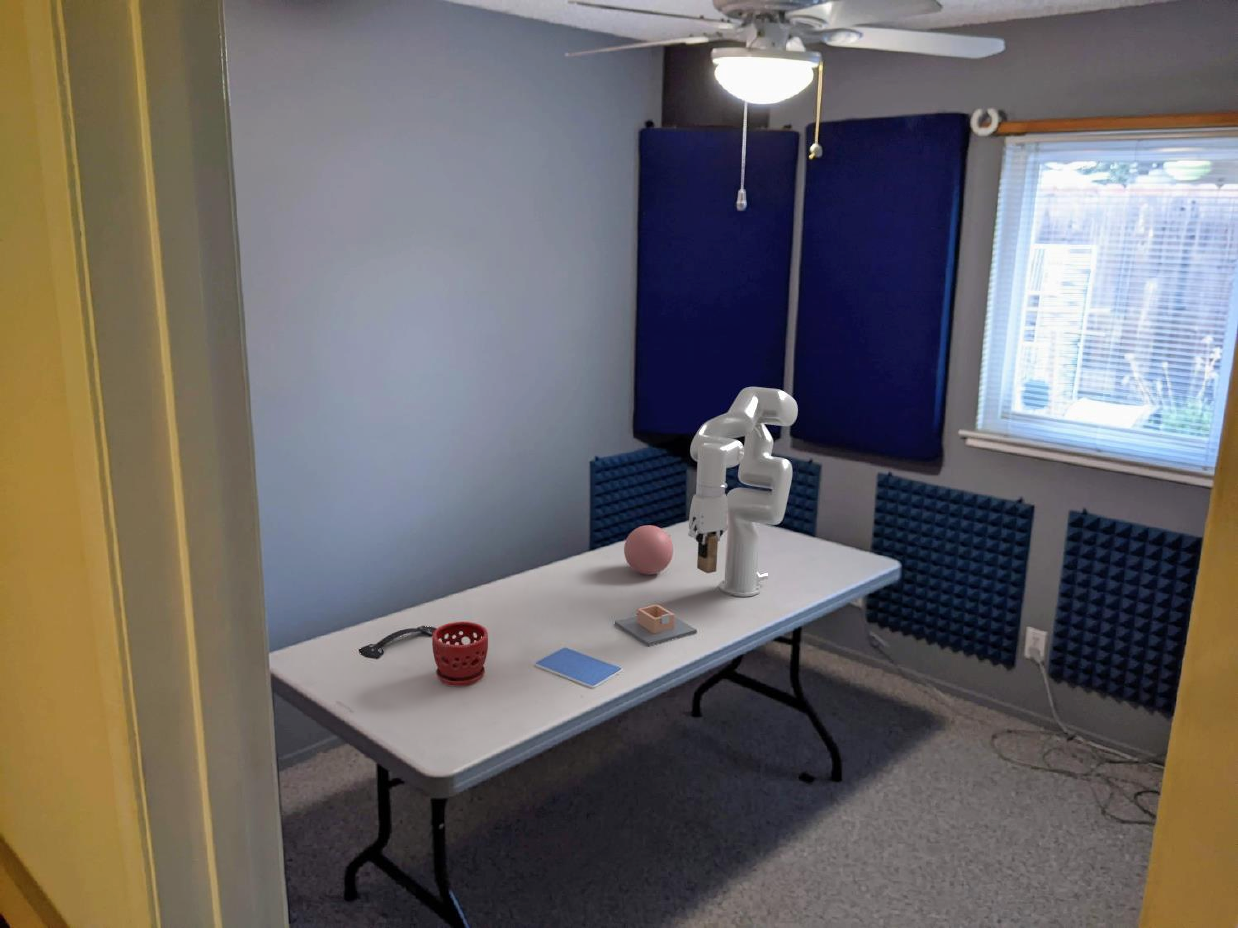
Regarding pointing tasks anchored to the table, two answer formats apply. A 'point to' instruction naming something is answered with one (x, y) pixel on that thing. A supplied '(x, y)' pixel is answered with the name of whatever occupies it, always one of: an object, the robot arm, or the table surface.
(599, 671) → the tablet computer
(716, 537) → the wooden rectangular block
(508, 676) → the table surface
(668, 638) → the square base with socket
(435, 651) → the plant pot
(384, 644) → the black curved handle
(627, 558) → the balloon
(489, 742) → the table surface
